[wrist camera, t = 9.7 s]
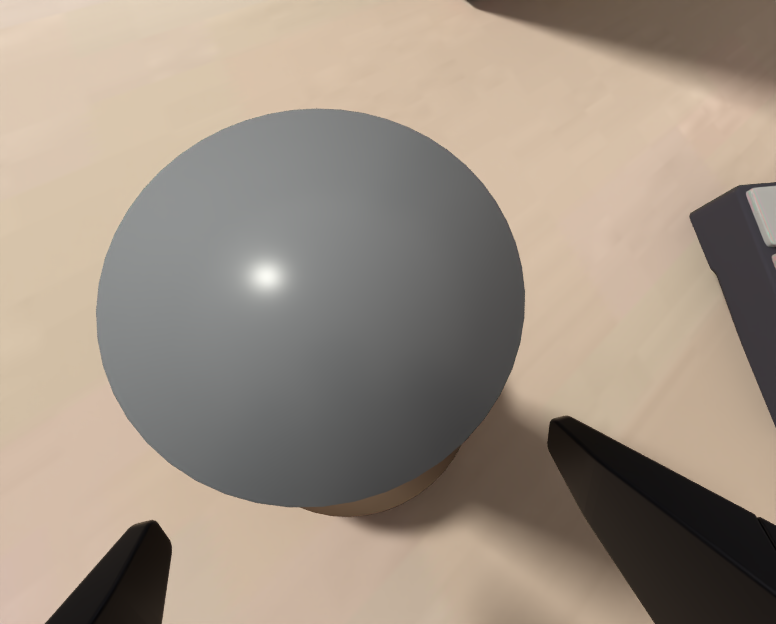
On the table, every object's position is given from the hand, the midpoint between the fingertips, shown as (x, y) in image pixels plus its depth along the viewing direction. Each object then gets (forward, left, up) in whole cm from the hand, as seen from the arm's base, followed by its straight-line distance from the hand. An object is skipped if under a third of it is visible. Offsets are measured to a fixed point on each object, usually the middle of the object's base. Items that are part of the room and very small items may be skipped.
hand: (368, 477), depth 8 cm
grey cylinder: (+2, +3, -9) cm, 10 cm away
